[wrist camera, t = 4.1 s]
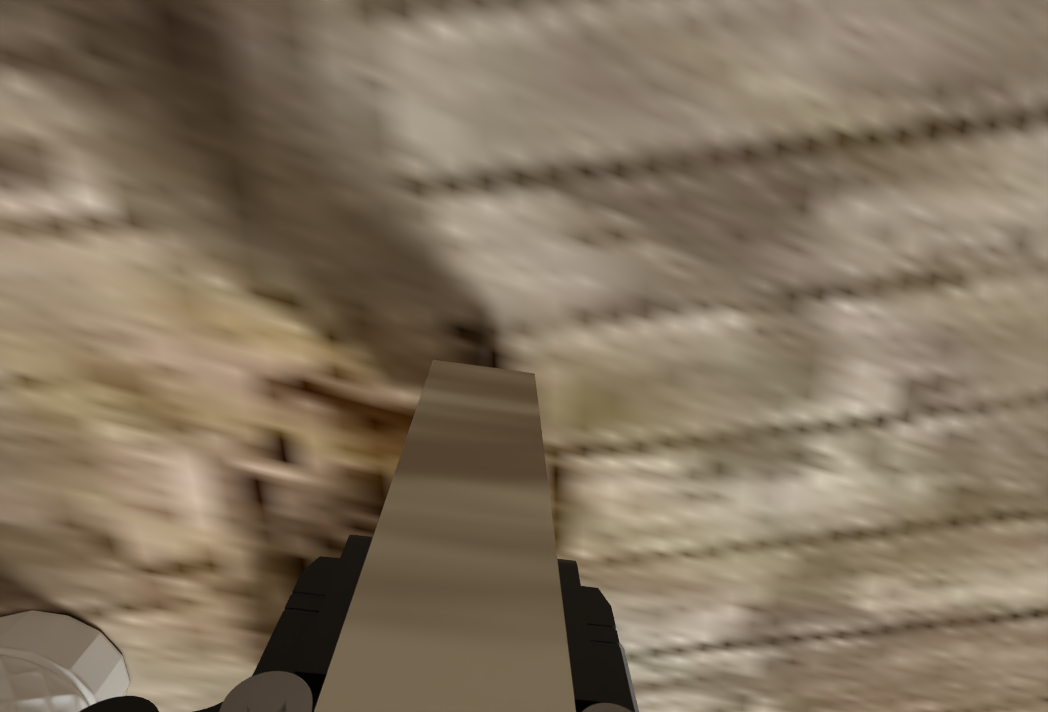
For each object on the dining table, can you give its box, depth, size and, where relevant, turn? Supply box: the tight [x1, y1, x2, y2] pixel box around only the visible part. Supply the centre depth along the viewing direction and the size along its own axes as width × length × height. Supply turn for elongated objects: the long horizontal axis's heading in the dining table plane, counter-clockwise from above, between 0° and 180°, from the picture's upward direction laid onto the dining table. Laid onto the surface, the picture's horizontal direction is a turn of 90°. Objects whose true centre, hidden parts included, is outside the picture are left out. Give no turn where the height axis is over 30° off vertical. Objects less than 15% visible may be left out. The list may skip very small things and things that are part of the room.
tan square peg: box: [314, 360, 576, 712], centre depth 14 cm, size 4×4×15 cm
